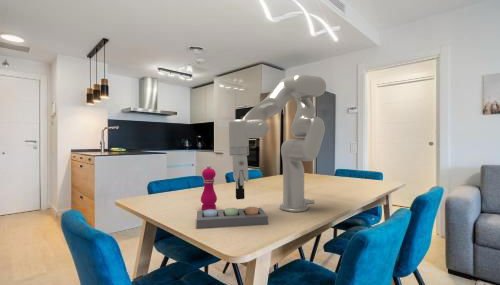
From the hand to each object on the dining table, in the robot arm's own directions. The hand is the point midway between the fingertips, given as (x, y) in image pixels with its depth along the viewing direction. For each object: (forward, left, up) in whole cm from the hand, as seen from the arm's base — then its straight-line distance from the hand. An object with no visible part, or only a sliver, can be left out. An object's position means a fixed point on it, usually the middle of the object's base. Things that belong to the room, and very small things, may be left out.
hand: (240, 198), depth 100 cm
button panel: (+3, 0, -9) cm, 9 cm away
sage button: (+3, 0, -7) cm, 8 cm away
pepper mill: (+11, -19, -9) cm, 24 cm away
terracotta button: (-5, 0, -7) cm, 8 cm away
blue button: (+11, 0, -7) cm, 14 cm away
